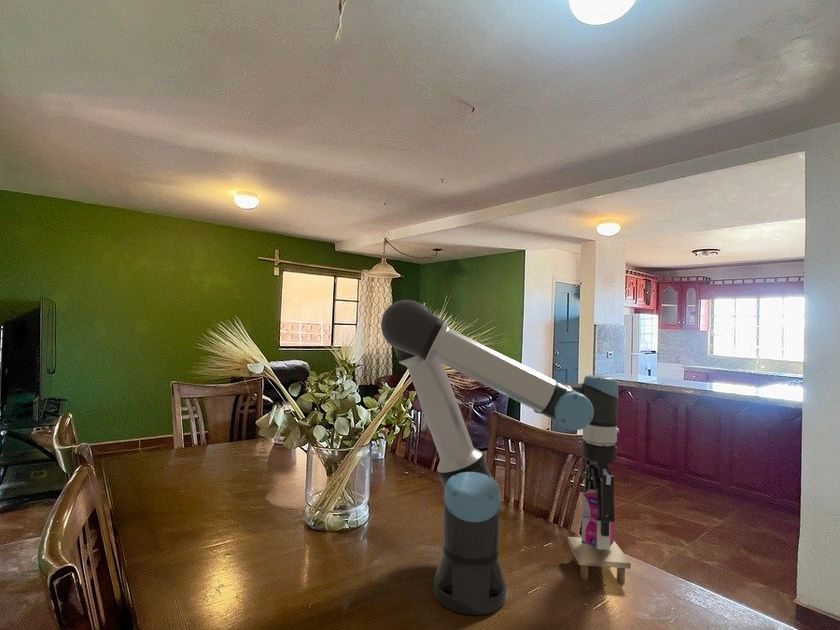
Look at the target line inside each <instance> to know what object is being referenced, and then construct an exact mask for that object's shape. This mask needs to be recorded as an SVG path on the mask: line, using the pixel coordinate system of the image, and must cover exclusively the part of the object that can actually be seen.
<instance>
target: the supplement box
mask: <svg viewBox="0 0 840 630" xmlns="http://www.w3.org/2000/svg"><path fill="white" fill-rule="evenodd" d="M582 494H583V495H582V509H581V510H582V513H581V514H582V515H581V516H582V518H581V538H582V541H581V542H582V543H584V544H588V545H591V546H594V547H596V544H597V521H596V518H599V513H598V502H597V491H596V489H589V490H588V491H587V492H586V493H584V492H583V493H582ZM615 496H616V495H615V494H614V504H615V503H616V502H615V500H616V499H615V498H616V497H615ZM614 533H615V521H614V522H610V546H611V545H612V544H613V542H614V541H615V540H614V536H615V535H614ZM605 551H606V550H605Z"/></svg>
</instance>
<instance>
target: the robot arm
mask: <svg viewBox="0 0 840 630" xmlns="http://www.w3.org/2000/svg"><path fill="white" fill-rule="evenodd" d="M380 322H381V323H380V330H381V333H382V336H383V338H384V339H385V341H386V342H387V343H388V344H389V345H390V346H391V347H393V349H394V352H395V355H396V358H397V360H398V364H401V365H403V366H405V367H406V368H407V371H408V373H409V376H410V378H411V381H412V384H413V386H414V390H415V392H416V395H417V398H418V401H419V403H420V406H421V409H422V412H423V415H424V418H425V420H426V424H427V425H428V429H429V432H430V434H431V437H432V440H433V443H434V446H435V448H436V451H437V453H438V457H439V460H440V461H439V463H438V465H437V468H436V470H437V472H438V475H439V479H440V481H441V484H442V487H443V489H444V492H443V500H444V507H443V508H444V509H443V536H442V537H443V538H442V539H443V540H442V541H443V545H442V548H443V549H442V555H441V558H440V560H439V564H438V566H437V569H436V572H435V574H434V576H433V577H434V578H433V594H434V597H435V600H437V601H438V602H439V603H440V605H442V606H444V607H445V608H447V610H451V611H453V612H456V613H457V614H458V613H459V614H462V615H467V616H468V615H470V616H483V615H488V614H493V613H494V612H497V611H498V610H500V609H501V608H502V607H503V606H504V605H505V603H506V600H507V584H506V581H505V577H504V574H503V570H502V566H501V563H500V559H499V550H500V549H499V546H500V514H501V513H500V512H501V511H500V509H501V508H500V507H501V504H502V497H501V490H500V486H499V483H497V481H496V480H495V479H494V477H493V475H492V472H491V471H490V469H489V468H488V465H487V462H486V460H485V457H484V454H483V452H482V451H480V450H479V449H477V448H475V447H474V445H473V443H472V439H471V437H470V433H469V431H468V428H467V425H466V423H465V420H464V416H463V414H462V412H461V409H460V406H459V404H458V402H457V398H456V395H455V392H454V390H453V387H452V384H451V381H450V379H449V376H448V374H447V371H446V368H445V366H446V367H449V368H450V369H452V370H455V371H456V372H459V373H460V374H462V375H464V376H465V377H468V378H470V379H472V380H473V381H476V382H478V383H480V384H482V385H484V386H486V387H489V388H490V389H492V390H494V391H496V392H498V393H499V394H501V395H504V396H506V397H509V398H510V399H512V400H514V401H516V402H518V403H520V404H522V405H525V407H528V408H530V409H532V410H533V412H534V413H535V414H540V415H541V414H542V416H543V415H544V416H546V417H547V418H550V419H551V420H554V421H556V422H557V423H558V424H559V425H560V426H562V427H564V428H566V429H568V430H570V431H580V430H582V439H583V440H584V441H582V448H581V449H582V451H581V453H582V457H583V458H584V459H585V460H584V462H585V472H584V484H583V486H584V487H583V494H584V493H586V492H587V491H588V490H589V489H596V491H597V502H598V513H599V518H596V521H597V544H596V548H597V549H602V550H610V522H614V523H615V521H616V519H615V516H616V515H615V503H614V495H615V478H616V477H615V476H614V475H611V469H610V468H609V467H610V466H609V464H610V463H614V462H616V461H617V458H618V457H617V456H618V446H617V445H616V443H617V441H618V433H620V429H619V428H618V415H619V413H618V411H619V399H620V397H619V384H618V383H619V382H618V380H617V379H616V378H614V377H612V376H610V375H609V376H608V375H598V374H597V375H595V374H591V375H585V376H584V379H583V382H582V383H567V382H565V383H564V382H558V381H556V380H555V379H553V378H550V377H548V376H546V375H545V374H543V373H541V372H538V371H536V370H535V369H532V368H531V367H529V366H526V365H524V364H523V363H520V362H519V361H517V360H515V359H512V358H510V357H508V356H506V355H504V354H502V353H501V352H498V351H496V350H494V349H492V348H491V347H488V346H486V345H484V344H482V343H480V342H478V341H477V340H475V339H472V338H470V337H468V336H467V335H464V334H462V333H460V332H458V331H456V330H454V329H452V328H450V327H449V324H448V322H447V321H446V320H444V319H442V318H440V317H438V316H437V315H435V314H433V312H432V311H431V310H430V309H429V307H427V305H424V304H423V303H420V302H417V301H415V300H413V299H401V300H397V301H395V302H394V303H391V304H390V305H389V306H388V307H387V309H386V310H385V311H384V312H383V314H382V318H381V321H380Z"/></svg>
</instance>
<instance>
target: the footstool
mask: <svg viewBox="0 0 840 630" xmlns="http://www.w3.org/2000/svg"><path fill="white" fill-rule="evenodd" d="M581 541H582V537H580V536H579V537H578V536H577V537H575V536H567V544H568V545H569V548H570V549H571V562H573V563H578V565H579V566H580V580H581V581H583V582H588V581H589V566H590V567H591V566H592V567H604V568H616V582H617V583H618V584H621V585H623V584H626V583H625V582H626V581H625V580H626V569H627V570H628V569H629V570H630V569H631V568H632V567H631V566H632V564H631V562H630V560H629V558H628V556H626V555H625V553H624V552H623V551H622V548H620V546H619V545H618V544H617V542H616V541H615V540H614V542H613V544H612V545H611V546H610V550H606V551H605V550H602V549H597V548H596V547H594V546H591V545H588V544H584V543H582V542H581Z"/></svg>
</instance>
